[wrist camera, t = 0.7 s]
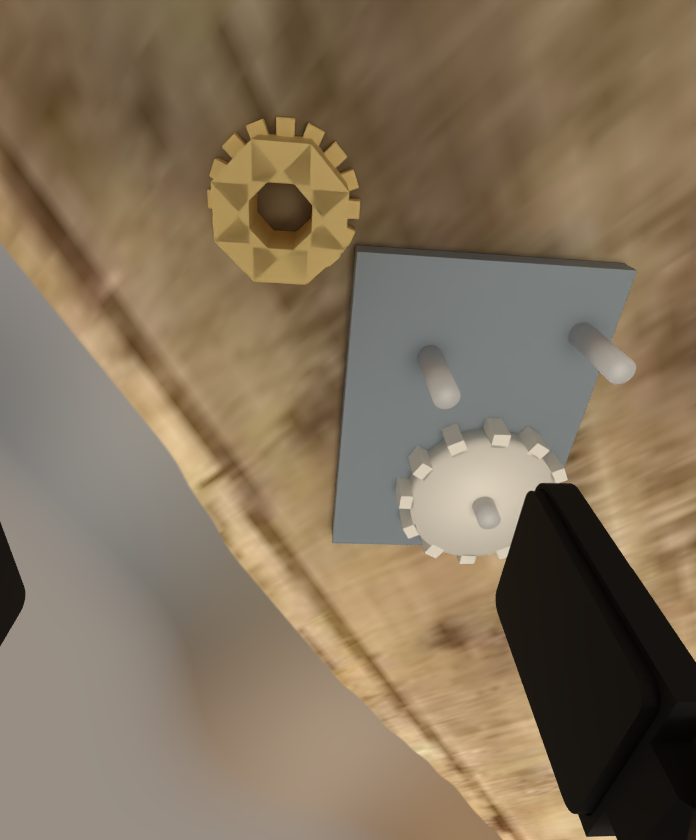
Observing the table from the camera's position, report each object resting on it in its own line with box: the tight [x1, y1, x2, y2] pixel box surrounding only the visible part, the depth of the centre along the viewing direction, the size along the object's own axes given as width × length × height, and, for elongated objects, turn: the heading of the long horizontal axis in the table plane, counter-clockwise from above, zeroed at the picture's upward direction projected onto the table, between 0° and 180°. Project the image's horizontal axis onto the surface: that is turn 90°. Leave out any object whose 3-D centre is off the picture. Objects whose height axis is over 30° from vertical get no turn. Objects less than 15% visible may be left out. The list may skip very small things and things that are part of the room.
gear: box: [207, 117, 360, 285], centre depth 27 cm, size 8×8×4 cm
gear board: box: [332, 245, 637, 564], centre depth 33 cm, size 22×16×6 cm
